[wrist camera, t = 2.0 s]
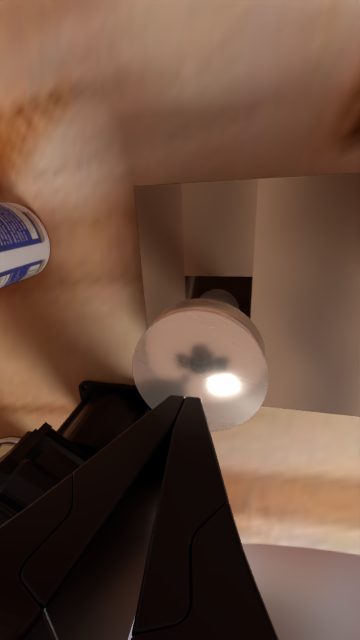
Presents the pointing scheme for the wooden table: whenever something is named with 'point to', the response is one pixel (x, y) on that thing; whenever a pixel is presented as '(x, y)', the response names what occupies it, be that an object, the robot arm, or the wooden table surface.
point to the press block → (269, 272)
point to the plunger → (204, 359)
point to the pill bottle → (21, 244)
